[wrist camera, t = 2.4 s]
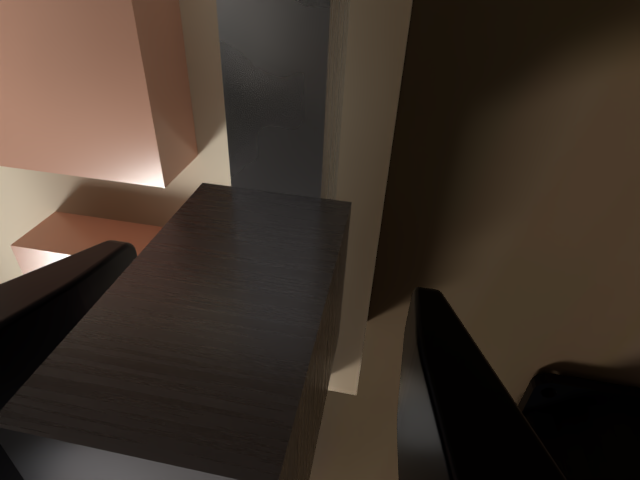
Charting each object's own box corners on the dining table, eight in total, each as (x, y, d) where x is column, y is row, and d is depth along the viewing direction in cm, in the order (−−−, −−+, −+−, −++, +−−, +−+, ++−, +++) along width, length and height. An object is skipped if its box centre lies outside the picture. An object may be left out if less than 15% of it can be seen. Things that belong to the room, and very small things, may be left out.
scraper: (392, -108, 6) (252, -308, 1) (340, 381, 13) (282, 698, 7) (226, -114, 7) (-489, -295, 1) (256, 365, 13) (142, 658, 8)
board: (453, -285, 7) (468, -394, 5) (366, 322, 15) (356, 395, 13) (-160, -277, 9) (-379, -357, 6) (52, 270, 17) (-10, 327, 14)
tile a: (169, -77, 7) (117, -79, 6) (198, 154, 9) (164, 187, 8) (-49, -88, 8) (-139, -92, 6) (28, 134, 10) (-27, 162, 9)
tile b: (208, 233, 11) (180, 272, 9) (222, 348, 13) (201, 391, 12) (55, 211, 11) (10, 245, 10) (95, 325, 13) (62, 364, 12)
